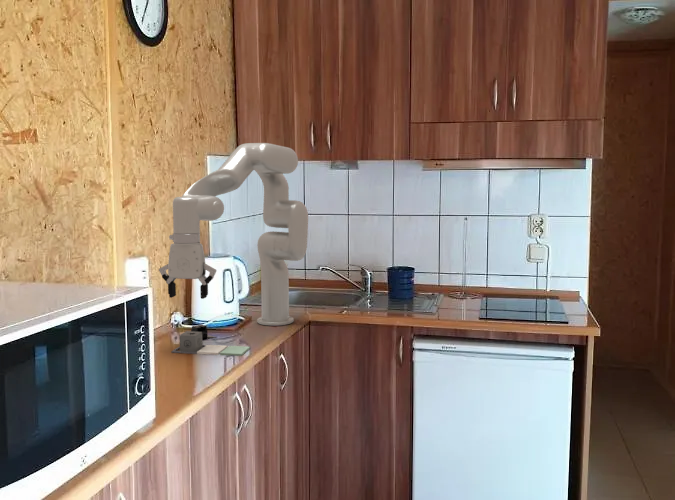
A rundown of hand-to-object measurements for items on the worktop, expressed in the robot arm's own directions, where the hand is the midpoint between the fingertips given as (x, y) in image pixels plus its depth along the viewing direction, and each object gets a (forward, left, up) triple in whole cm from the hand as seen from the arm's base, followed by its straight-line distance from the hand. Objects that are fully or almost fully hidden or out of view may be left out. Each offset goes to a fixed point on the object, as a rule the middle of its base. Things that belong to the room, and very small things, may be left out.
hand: (188, 297), depth 203 cm
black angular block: (-14, -2, -17) cm, 22 cm away
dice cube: (0, 0, -16) cm, 16 cm away
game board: (0, +7, -16) cm, 17 cm away
